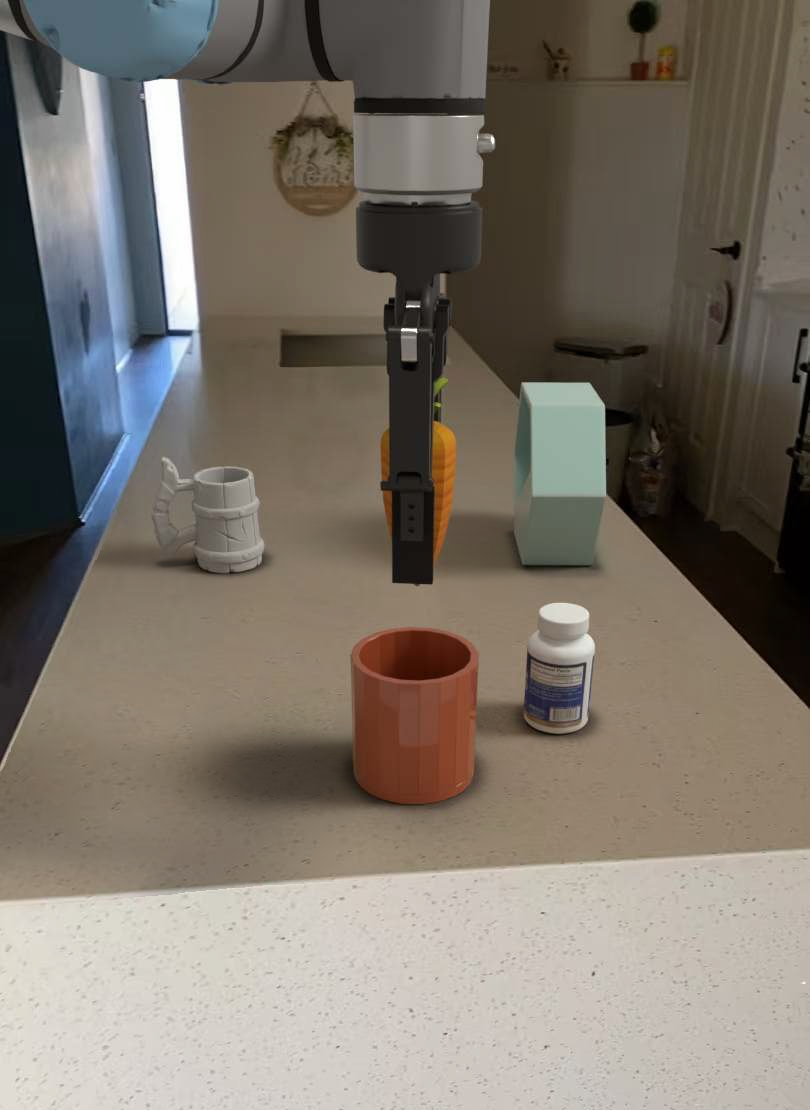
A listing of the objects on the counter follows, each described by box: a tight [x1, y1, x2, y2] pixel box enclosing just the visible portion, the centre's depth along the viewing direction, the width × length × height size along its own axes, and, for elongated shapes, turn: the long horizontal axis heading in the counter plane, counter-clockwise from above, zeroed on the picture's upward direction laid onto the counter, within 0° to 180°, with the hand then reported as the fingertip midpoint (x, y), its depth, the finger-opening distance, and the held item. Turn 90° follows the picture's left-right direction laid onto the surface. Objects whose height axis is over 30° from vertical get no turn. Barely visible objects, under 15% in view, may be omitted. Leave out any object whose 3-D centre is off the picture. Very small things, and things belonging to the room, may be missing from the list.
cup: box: [350, 626, 480, 805], centre depth 81 cm, size 9×9×10 cm
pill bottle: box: [523, 602, 596, 735], centre depth 88 cm, size 5×5×10 cm
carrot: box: [380, 376, 457, 587], centre depth 73 cm, size 5×5×15 cm
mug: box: [150, 456, 266, 574], centre depth 118 cm, size 8×12×12 cm, turn 101°
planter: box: [513, 381, 607, 566], centre depth 121 cm, size 17×8×21 cm
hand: (416, 565), depth 75 cm, fingers closed on carrot, 5 cm apart
